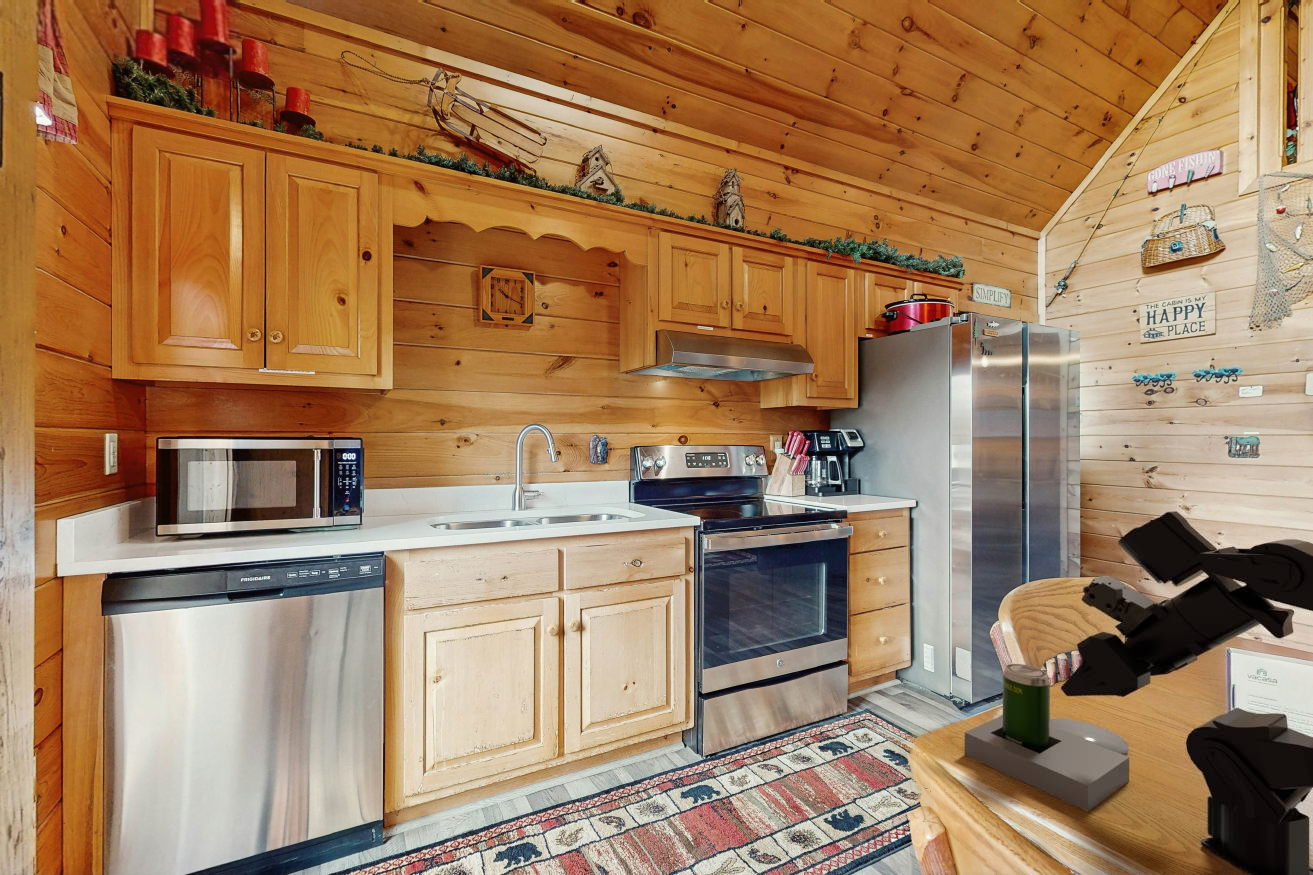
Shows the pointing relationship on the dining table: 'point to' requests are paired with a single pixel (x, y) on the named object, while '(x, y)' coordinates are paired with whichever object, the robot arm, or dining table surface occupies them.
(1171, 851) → the dining table surface
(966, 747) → the can dock
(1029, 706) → the beer can
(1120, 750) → the coaster
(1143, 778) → the dining table surface
